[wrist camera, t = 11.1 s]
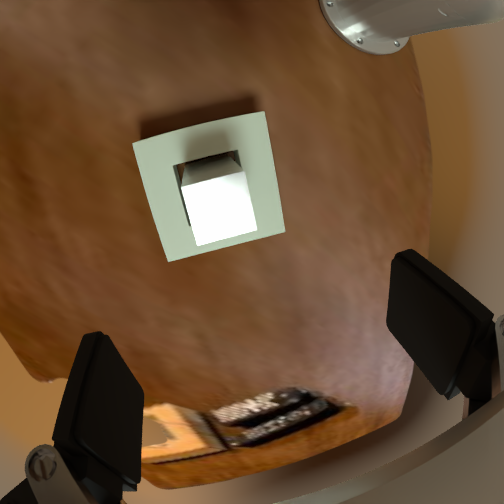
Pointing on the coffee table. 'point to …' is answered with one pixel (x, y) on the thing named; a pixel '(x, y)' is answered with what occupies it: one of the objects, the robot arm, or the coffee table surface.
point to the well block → (198, 146)
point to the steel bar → (217, 199)
